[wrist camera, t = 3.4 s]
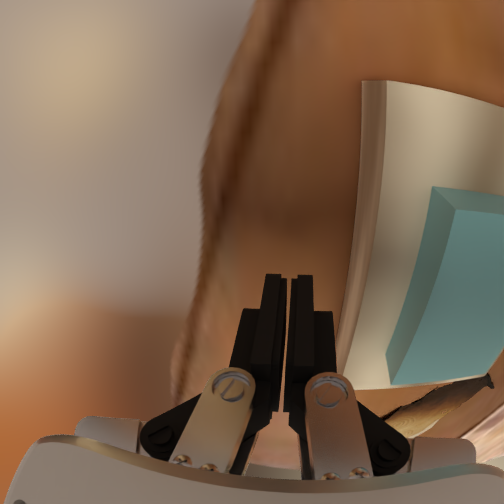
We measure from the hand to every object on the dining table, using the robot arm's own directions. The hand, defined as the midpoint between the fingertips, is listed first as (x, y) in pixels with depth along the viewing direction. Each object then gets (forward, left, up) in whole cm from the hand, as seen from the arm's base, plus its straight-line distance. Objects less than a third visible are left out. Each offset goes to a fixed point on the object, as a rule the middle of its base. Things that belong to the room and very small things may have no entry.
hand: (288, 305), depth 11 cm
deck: (-9, 0, -5) cm, 10 cm away
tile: (-8, 0, -1) cm, 8 cm away
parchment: (-13, +25, -6) cm, 28 cm away
